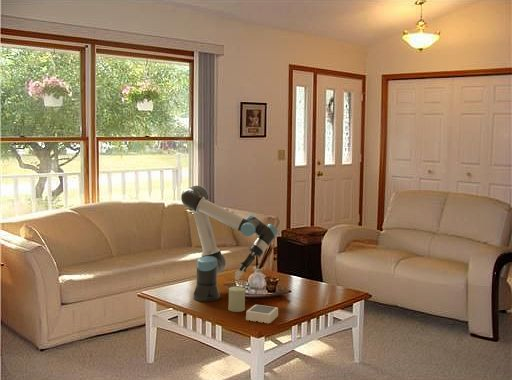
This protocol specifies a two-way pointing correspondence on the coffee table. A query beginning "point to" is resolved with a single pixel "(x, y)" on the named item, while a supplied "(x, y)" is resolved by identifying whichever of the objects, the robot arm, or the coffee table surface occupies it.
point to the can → (236, 299)
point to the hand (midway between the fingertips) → (236, 277)
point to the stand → (262, 313)
